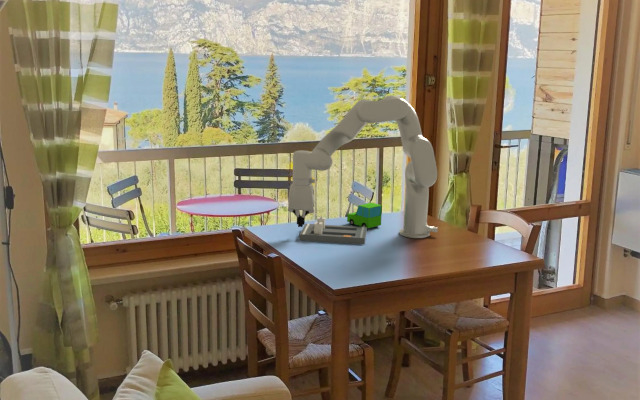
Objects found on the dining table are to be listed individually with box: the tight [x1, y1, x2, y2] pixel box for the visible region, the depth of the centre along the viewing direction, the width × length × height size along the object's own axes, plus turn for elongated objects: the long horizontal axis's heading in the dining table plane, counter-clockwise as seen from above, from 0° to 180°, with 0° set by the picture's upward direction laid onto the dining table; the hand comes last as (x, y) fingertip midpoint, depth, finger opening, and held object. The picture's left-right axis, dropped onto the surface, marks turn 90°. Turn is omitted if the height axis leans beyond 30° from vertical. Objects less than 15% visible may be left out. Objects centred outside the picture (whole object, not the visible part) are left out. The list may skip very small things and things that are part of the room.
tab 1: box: [316, 216, 326, 229], centre depth 264 cm, size 3×3×5 cm
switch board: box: [298, 222, 368, 245], centre depth 261 cm, size 26×16×3 cm, turn 83°
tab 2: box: [313, 221, 323, 234], centre depth 257 cm, size 3×3×5 cm
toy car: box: [346, 202, 383, 230], centre depth 277 cm, size 10×13×10 cm
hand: (300, 226), depth 257 cm, fingers closed
